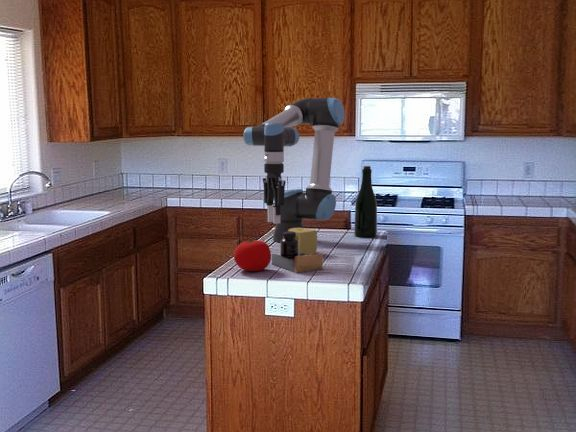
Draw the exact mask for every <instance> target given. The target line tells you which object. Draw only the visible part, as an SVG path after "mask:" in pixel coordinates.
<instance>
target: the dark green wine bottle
mask: <svg viewBox="0 0 576 432" xmlns="http://www.w3.org/2000/svg"><path fill="white" fill-rule="evenodd" d="M371 167H372V166H370V165H364V166H363V168H362V171H361V173H362V174H361V175H362V177H361V185H360V188H359V191H358V194H357V195H356V199H355V207H354V209H355V210H354V228H353V229H354V230H353V231H354V236H355V237H358V238H365V239H367V238H375V237H377V233H378V227H377V226H378V204H377V203H378V202H377V197H376V195H375V192H374V188H373V184H372V170H373V169H372V168H371Z"/></svg>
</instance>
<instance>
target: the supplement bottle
mask: <svg viewBox="0 0 576 432" xmlns="http://www.w3.org/2000/svg"><path fill="white" fill-rule="evenodd" d="M295 237H296V232H292V231H286V232H283V239H282V240H281V242H279V243H280V244H279V245H280V246H279V247H280V248H279V249H280V252H279V255H280V256H283V257H286V258H289V259H292V260H295V256H298V240H297V239H295Z"/></svg>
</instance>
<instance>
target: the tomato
mask: <svg viewBox="0 0 576 432" xmlns="http://www.w3.org/2000/svg"><path fill="white" fill-rule="evenodd" d="M233 258H234V262H235V263H236V265H237V266H238V268H240V269H241V270H245V271H247V272H259V271H263V270H265V269H266V268H268V266H269V265H270V264H271V262H272V252H271V249H270V246H269V245H268V244H267V243H266V242H265V241H263V240H259V239H252V238H250V239H247V240H245V241H244V240H243V241H240V244H238V245H237V246H236V247H235V250H234V252H233Z"/></svg>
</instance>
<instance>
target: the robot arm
mask: <svg viewBox="0 0 576 432" xmlns="http://www.w3.org/2000/svg"><path fill="white" fill-rule="evenodd" d="M344 108H345V107H344V104H343V103H342V101H341V100H340V99H339V98H336V97H308V98H303V99H299V100H296V101H295V102H293V103H292V102H291V103H290V104H288V105H287V106H286V107H285V108H284V110H283V111H282V112H281V111H280V112H279V113H278V114H276V115H274V116H273V117H271V118H269V119H268V120H266V121H264V122H262V123H261V124H259V125H257V126H247V127H246V128H245V129H244V131H243V135H242V136H243V141H244V143H245V145H247V146H253V147H257V146H258V147H259V146H262V147H263V149H264V151H263V152H264V154H263V157H264V162H265V163H264V164H263V165H264V166H263V168H264V169H263V170H264V174H266V177H263V178H262V183H263V202H264V204H266V206H267V210H266V211H267V223H273V224H276V225H275V228H274V231H273V233H272V241H273V242H276V243H280V242H281V240H282V239H283V232H286V231H288V230H289V229H292V228H304V225H303V219H305V220H317V221H327V220H329V219H331V218H332V216H333V215H334V213H335V211H336V205H337V201H336V200H337V199H336V198H337V197H336V196H335V194H333V190H332V188H331V187H330V182H331V180H330V179H331V172H332V161H333V150H334V143H335V142H334V140H335V134H336V133H337V132H338V130H339V127H340V126H341V125H343V124H344V122H345V118H346V117H345V109H344ZM299 125H312V126H311V127H312V129H313V130H314V139H313V151H312V157H311V158H312V160H311V169H310V179H309V180H310V181H309V185H308V186H307V187H305V192H304V191H303V188H294V189H292V188H291V189H285V187H286V180H283V179H282V174H283V173H284V172H285V171H284V169H285V168H284V167H285V165H284V161H285V160H284V158H285V157H284V156H285V155H284V154H285V152H284V151H285V150H284V148H285V147H293V146H295V145H296V144H298V142H299V140H300V133H299V131H298V129H296V128H295V127H296V126H299ZM304 229H305V228H304Z"/></svg>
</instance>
